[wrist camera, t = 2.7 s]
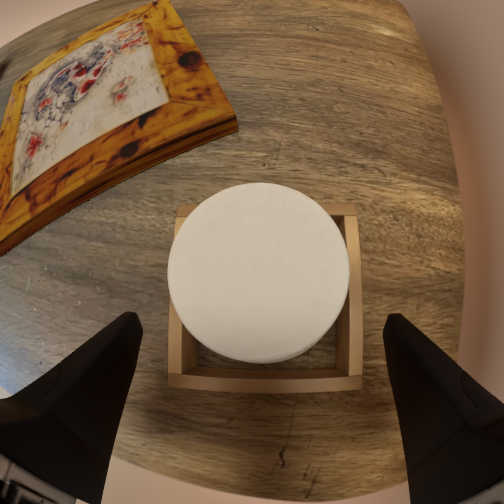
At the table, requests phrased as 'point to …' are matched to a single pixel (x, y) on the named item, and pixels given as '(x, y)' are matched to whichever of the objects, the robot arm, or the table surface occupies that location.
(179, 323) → the square wooden frame
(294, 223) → the pill bottle
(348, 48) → the table surface
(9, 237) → the picture frame
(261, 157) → the table surface
